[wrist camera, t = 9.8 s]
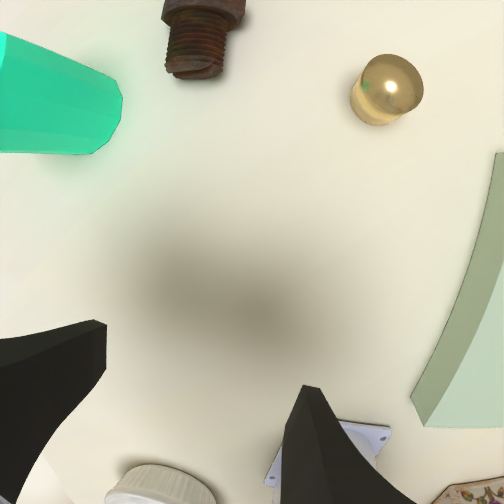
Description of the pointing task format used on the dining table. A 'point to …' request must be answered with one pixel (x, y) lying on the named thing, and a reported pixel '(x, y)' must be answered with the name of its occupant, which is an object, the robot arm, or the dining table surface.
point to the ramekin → (158, 487)
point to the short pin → (386, 90)
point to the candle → (53, 102)
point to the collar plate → (472, 335)
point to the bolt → (199, 35)
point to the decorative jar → (474, 493)
